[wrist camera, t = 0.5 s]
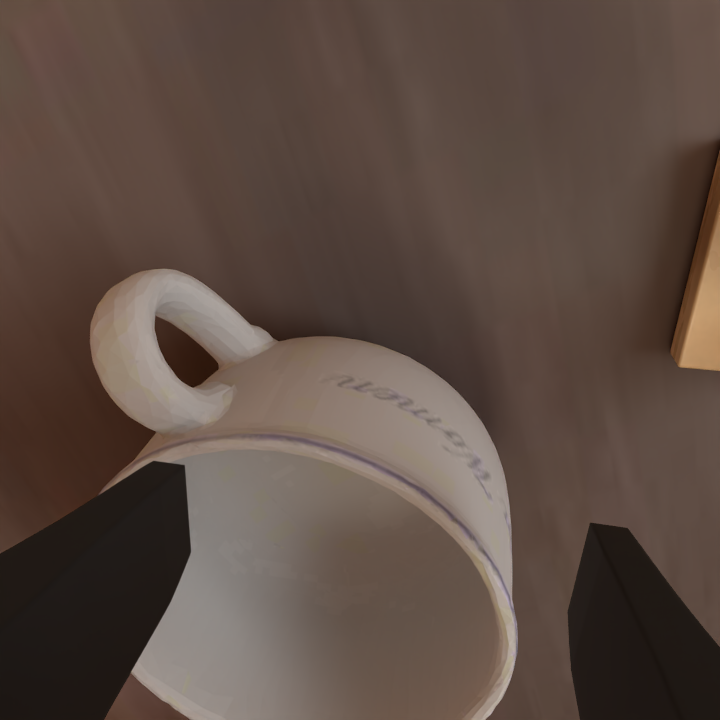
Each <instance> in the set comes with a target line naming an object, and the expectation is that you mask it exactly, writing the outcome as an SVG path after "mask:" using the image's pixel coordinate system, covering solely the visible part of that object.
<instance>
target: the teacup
mask: <svg viewBox="0 0 720 720" xmlns="http://www.w3.org/2000/svg"><path fill="white" fill-rule="evenodd" d="M155 315H156V316H158V317H160V318H162V319H164V320H166V321H168V322H170V323H172V324H173V325H175V326H176V327H178V328H179V329H181V330H182V331H183V332H185V333H186V334H188V335H189V336H190V337H191V338H192V339H194V340H195V341H196V342H197V343H198V344H200V345H201V346H202V347H203V348H204V349H205V350H206V351H207V352H208V353H209V354H210V355H211V356H212V357H213V358H214V359H215V360H216V361H217V363H218V365H219V369H218V371H216V372H215V373H214V374H212V375H211V376H210V377H209V378H208V379H206V380H205V381H204V382H203V383H202V384H201V385H198V386H196V387H194V388H192V387H190V386H188V385H186V384H185V383H183V382H182V381H181V380H179V379H178V378H177V376H176V375H175V374H174V372H173V371H172V369H171V368H170V367H169V365H168V364H167V363H166V361H165V359H164V357H163V355H162V353H161V351H160V349H159V346H158V341H157V337H156V333H155V329H154V327H155ZM90 346H91V353H92V360H93V364H94V366H95V369H96V371H97V373H98V376H99V378H100V380H101V383H102V385H103V387H104V388H105V390H106V391H107V393H108V394H109V396H110V397H111V398H112V400H113V401H114V402H115V403H116V405H117V406H118V407H120V408H121V409H122V410H123V411H124V412H125V413H126V414H127V415H128V416H129V417H130V418H132V419H134V420H135V421H137V422H139V423H140V424H142V425H144V426H145V427H147V428H149V429H151V430H153V431H156V434H155V435H154V436H153V437H152V438H151V440H150V441H149V442H148V443H147V445H146V446H145V447H144V448H143V449H142V451H141V452H140V453H139V454H138V456H137V457H136V458H135V459H134V460H133V462H131V463H130V464H129V465H128V466H126V467H125V468H124V469H123V470H121V471H120V472H119V473H118V474H117V475H116V476H115V477H114V478H113V479H112V480H111V481H110V482H109V483H108V484H107V485H106V486H105V487H104V488H103V489H102V490H101V492H100V493H99V494H98V495H100V494H101V493H103V492H104V491H106V490H107V489H109V488H110V487H112V486H114V485H115V484H117V483H118V482H120V481H121V480H123V479H124V478H126V477H127V476H129V475H131V474H132V473H134V472H135V471H137V470H138V469H140V468H142V467H143V466H145V465H147V464H148V463H150V462H152V461H160V462H167V463H174V464H181V465H185V473H186V487H187V501H188V514H189V528H190V542H191V554H190V557H189V559H188V562H187V564H186V567H185V569H184V572H183V574H182V577H181V579H180V582H179V584H178V586H177V589H176V591H175V593H174V596H173V598H172V600H171V603H170V604H169V606H168V608H167V610H166V612H165V613H164V615H163V617H162V619H161V621H160V622H159V624H158V626H157V628H156V629H155V631H154V633H153V635H152V636H151V638H150V640H149V642H148V643H147V645H146V647H145V649H144V650H143V652H142V654H141V656H140V657H139V659H138V661H137V663H136V664H135V666H134V668H133V670H132V671H131V674H132V675H133V676H134V677H135V678H136V679H137V680H139V681H140V682H141V683H142V684H143V685H144V686H146V687H147V688H148V689H149V690H150V691H151V692H153V693H154V694H155V695H156V696H157V697H159V698H160V699H161V700H162V701H164V702H166V703H168V704H170V705H171V706H172V707H173V708H174V709H176V710H177V711H179V712H180V713H182V714H183V715H185V716H186V717H188V718H189V719H191V720H485V719H486V718H487V717H488V716H489V715H490V714H492V712H493V710H494V708H495V707H496V705H497V704H498V703H499V702H500V700H501V699H502V697H503V695H504V693H505V691H506V689H507V687H508V685H509V682H510V679H511V676H512V672H513V670H514V667H515V659H516V655H517V651H518V639H517V622H516V617H515V612H514V607H513V602H512V541H511V519H510V507H509V499H508V492H507V485H506V480H505V475H504V471H503V468H502V465H501V462H500V459H499V456H498V453H497V450H496V448H495V446H494V444H493V442H492V440H491V438H490V436H489V434H488V432H487V430H486V428H485V426H484V424H483V423H482V422H481V420H480V419H479V417H478V416H477V415H476V413H475V412H474V410H473V409H472V408H471V407H470V406H469V404H468V403H467V402H466V401H465V400H464V399H463V398H462V396H461V395H460V394H459V393H458V392H457V391H456V390H455V389H454V388H453V387H451V386H450V385H449V384H448V383H447V382H446V381H445V380H443V379H442V378H441V377H439V376H438V375H437V374H435V373H434V372H433V371H431V370H430V369H428V368H427V367H425V366H423V365H422V364H420V363H418V362H417V361H415V360H413V359H411V358H410V357H408V356H405V355H403V354H400V353H398V352H396V351H393V350H391V349H388V348H386V347H383V346H381V345H377V344H373V343H369V342H366V341H362V340H356V339H349V338H342V337H335V336H313V337H302V338H293V339H288V340H284V341H277V340H275V339H274V338H272V337H271V335H270V334H269V333H268V332H267V331H265V330H263V329H262V328H260V327H258V326H254V325H250V324H249V323H248V322H247V321H246V320H245V319H244V318H243V317H242V316H241V315H240V314H239V313H238V312H237V311H236V310H234V309H233V308H232V307H231V306H230V305H229V304H228V303H227V302H225V301H224V300H223V299H222V298H221V297H220V296H219V295H217V294H216V293H215V292H214V291H213V290H211V289H210V288H209V287H207V286H206V285H205V284H203V283H202V282H200V281H198V280H197V279H195V278H193V277H192V276H190V275H187V274H185V273H182V272H179V271H177V270H172V269H165V268H164V269H153V270H147V271H141V272H139V273H136V274H133V275H132V276H130V277H128V278H127V279H125V280H123V281H122V282H120V283H118V284H117V285H115V286H113V287H112V288H111V289H110V290H109V291H108V292H107V293H106V294H105V296H104V297H103V298H102V300H101V301H100V303H99V304H98V306H97V308H96V310H95V313H94V316H93V319H92V321H91V329H90Z"/></svg>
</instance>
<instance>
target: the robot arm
mask: <svg viewBox="0 0 720 720" xmlns="http://www.w3.org/2000/svg"><path fill="white" fill-rule="evenodd" d="M190 554H191V542H190V528H189V514H188V501H187V487H186V473H185V465H181V464H174V463H167V462H160V461H152V462H150V463H148V464H147V465H145V466H143V467H142V468H140V469H138V470H137V471H135V472H134V473H132V474H131V475H129V476H127V477H126V478H124V479H123V480H121V481H120V482H118V483H117V484H115V485H114V486H112V487H110V488H109V489H107V490H106V491H104V492H103V493H101V494H100V495H98V496H97V497H95V498H93V499H92V500H90V501H89V502H87V503H85V504H84V505H82V506H81V507H79V508H78V509H76V510H74V511H73V512H71V513H70V514H68V515H66V516H65V517H63V518H62V519H60V520H58V521H57V522H55V523H53V524H52V525H50V526H48V527H46V528H45V529H43V530H41V531H39V532H38V533H36V534H34V535H32V536H31V537H29V538H27V539H26V540H24V541H22V542H20V543H19V544H17V545H15V546H13V547H12V548H10V549H8V550H6V551H5V552H3V553H1V554H0V720H104V719H105V717H106V715H107V713H108V711H109V709H110V708H111V706H112V704H113V703H114V701H115V699H116V697H117V696H118V694H119V692H120V690H121V689H122V687H123V685H124V683H125V682H126V680H127V678H128V676H129V675H130V673H131V671H132V670H133V668H134V666H135V664H136V663H137V661H138V659H139V657H140V656H141V654H142V652H143V650H144V649H145V647H146V645H147V643H148V642H149V640H150V638H151V636H152V635H153V633H154V631H155V629H156V628H157V626H158V624H159V622H160V621H161V619H162V617H163V615H164V613H165V612H166V610H167V608H168V606H169V604H170V603H171V600H172V598H173V596H174V593H175V591H176V589H177V586H178V584H179V582H180V579H181V577H182V574H183V572H184V569H185V567H186V564H187V562H188V559H189V557H190ZM568 627H569V646H570V660H571V671H572V677H573V683H574V688H575V694H576V699H577V705H578V710H579V716H580V720H720V647H719V646H718V645H717V643H716V642H715V641H714V640H713V639H712V637H711V636H710V635H709V634H708V633H707V631H706V630H705V629H704V628H703V626H702V625H701V624H700V623H699V621H698V620H697V619H696V618H695V617H694V615H693V614H692V613H691V612H690V610H689V609H688V608H687V607H686V605H685V604H684V603H683V601H682V600H681V599H680V598H679V596H678V595H677V594H676V592H675V591H674V590H673V588H672V587H671V586H670V585H669V583H668V582H667V581H666V579H665V578H664V577H663V575H662V574H661V573H660V571H659V570H658V568H657V567H656V566H655V564H654V563H653V562H652V560H651V559H650V558H649V556H648V555H647V554H646V552H645V551H644V549H643V548H642V547H641V545H640V544H639V543H638V541H637V540H636V539H635V537H634V536H633V535H632V533H631V532H630V531H629V529H628V528H623V527H616V526H609V525H602V524H595V523H590V526H589V530H588V534H587V537H586V541H585V545H584V549H583V553H582V557H581V561H580V565H579V569H578V573H577V577H576V581H575V585H574V589H573V593H572V597H571V601H570V605H569V609H568Z"/></svg>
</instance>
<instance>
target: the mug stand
mask: <svg viewBox="0 0 720 720" xmlns="http://www.w3.org/2000/svg"><path fill="white" fill-rule="evenodd" d="M670 353H671V355H672V357H673V359H674V360H675V362H676V364H677V366H679V367H682V368H694V369H705V370H717V371H720V151H719V155H718V159H717V163H716V167H715V171H714V175H713V179H712V184H711V188H710V192H709V196H708V200H707V204H706V208H705V212H704V216H703V220H702V224H701V228H700V232H699V236H698V241H697V245H696V249H695V253H694V257H693V261H692V265H691V269H690V273H689V277H688V281H687V285H686V289H685V293H684V298H683V302H682V306H681V310H680V314H679V318H678V322H677V326H676V330H675V334H674V338H673V342H672V346H671V350H670Z"/></svg>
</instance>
